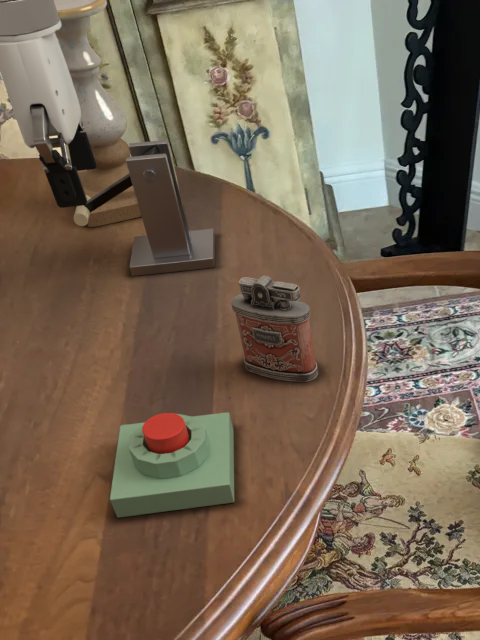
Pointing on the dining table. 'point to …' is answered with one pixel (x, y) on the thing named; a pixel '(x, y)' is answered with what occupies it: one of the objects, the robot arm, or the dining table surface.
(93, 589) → the dining table surface
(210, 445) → the button box
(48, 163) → the robot arm
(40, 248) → the dining table surface
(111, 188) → the lever
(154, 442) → the button
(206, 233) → the bracket
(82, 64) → the candle holder
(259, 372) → the lighter
